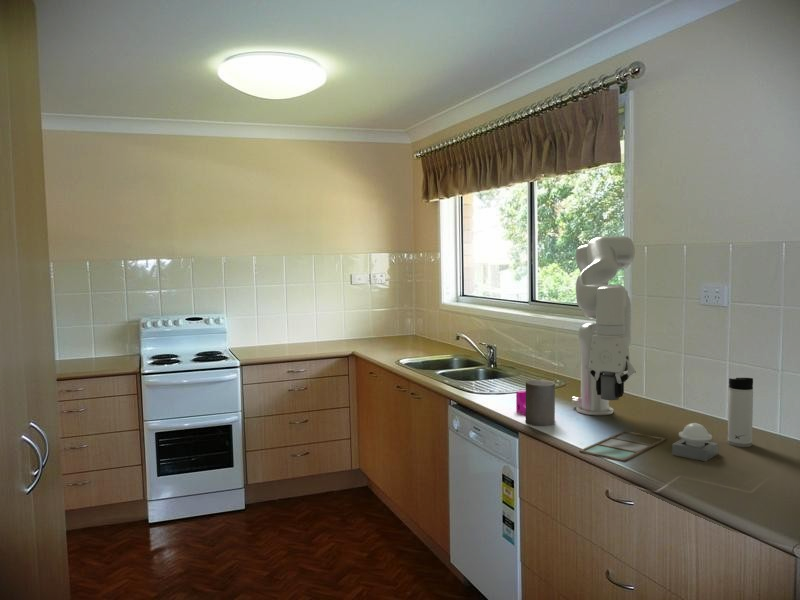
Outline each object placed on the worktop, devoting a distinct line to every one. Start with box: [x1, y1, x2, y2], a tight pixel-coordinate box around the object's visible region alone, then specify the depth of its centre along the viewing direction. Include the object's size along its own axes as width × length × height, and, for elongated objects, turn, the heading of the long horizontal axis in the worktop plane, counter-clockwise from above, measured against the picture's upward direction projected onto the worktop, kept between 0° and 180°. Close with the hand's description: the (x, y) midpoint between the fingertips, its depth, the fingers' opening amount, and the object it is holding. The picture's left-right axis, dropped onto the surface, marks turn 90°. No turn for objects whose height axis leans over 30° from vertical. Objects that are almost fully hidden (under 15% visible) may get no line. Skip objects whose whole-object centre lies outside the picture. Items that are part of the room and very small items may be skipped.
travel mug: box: [727, 377, 754, 448], centre depth 186 cm, size 6×7×20 cm
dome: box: [678, 422, 713, 448], centre depth 178 cm, size 8×8×7 cm
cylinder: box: [601, 372, 620, 401], centre depth 179 cm, size 5×5×10 cm
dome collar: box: [671, 438, 719, 462], centre depth 178 cm, size 9×9×3 cm
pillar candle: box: [524, 379, 556, 427], centre depth 214 cm, size 10×10×15 cm
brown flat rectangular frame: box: [579, 430, 667, 463], centre depth 187 cm, size 13×28×1 cm, turn 135°
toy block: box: [515, 390, 526, 416], centre depth 224 cm, size 15×6×8 cm, turn 18°
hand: (609, 394), depth 179 cm, fingers closed on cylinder, 4 cm apart
